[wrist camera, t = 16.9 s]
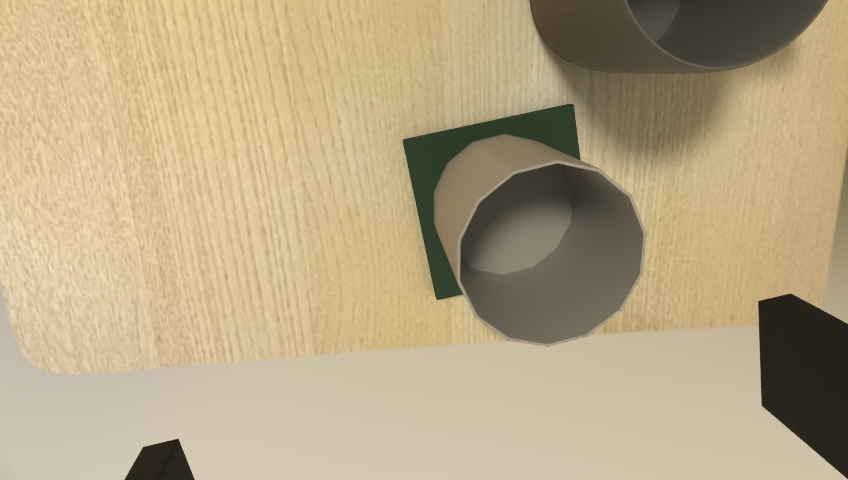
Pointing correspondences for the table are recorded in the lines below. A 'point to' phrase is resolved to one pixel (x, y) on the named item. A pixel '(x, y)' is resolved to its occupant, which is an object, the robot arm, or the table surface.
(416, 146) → the coaster mat
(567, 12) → the mug
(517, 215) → the cup
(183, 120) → the table surface
